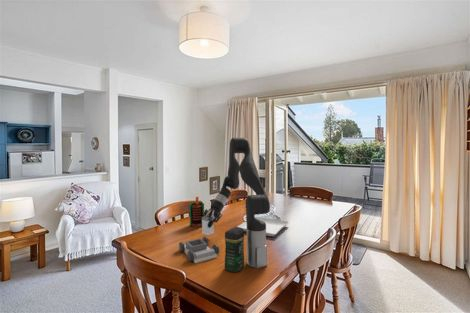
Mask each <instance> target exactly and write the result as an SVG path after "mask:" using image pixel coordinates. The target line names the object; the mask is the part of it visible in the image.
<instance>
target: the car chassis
mask: <svg viewBox="0 0 470 313" xmlns="http://www.w3.org/2000/svg"><path fill="white" fill-rule="evenodd" d="M208 245H209V239H208V237H207V236H203V237H202V238H197V239H192V240H187V241H185V242H184V241H179V242H178V251H179V252H180V253H183V252H184V253H185V254H186V256H187V260H188V262H190V263H191V262H193V263H194V264H197V263H201V262H204V261H209V260H212V259H215V258H218V255H219V253H220V246H219V245H218V244H212V246H211V248H210V247H209V246H208Z"/></svg>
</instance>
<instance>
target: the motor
mask: <svg viewBox="0 0 470 313" xmlns="http://www.w3.org/2000/svg"><path fill="white" fill-rule="evenodd" d="M204 212H205V203H204V202H202V201H199V196H195V201H194V202H190V203H189V227H192V228H202V227H201V226H202V225H201V223H202V217H203V214H204Z"/></svg>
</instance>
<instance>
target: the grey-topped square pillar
mask: <svg viewBox="0 0 470 313" xmlns="http://www.w3.org/2000/svg"><path fill="white" fill-rule="evenodd" d="M211 219H212V217H211V216H209V215H208V216H204V217H202V227H201V232H202V234H203V235H206V236H209V235H212V234H214V233H215V226H214V224H215V222H214V223H213V225H212V226H211V227H210V228H209V227H208V224H209V222H210V221H211Z"/></svg>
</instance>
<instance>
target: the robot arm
mask: <svg viewBox="0 0 470 313" xmlns="http://www.w3.org/2000/svg"><path fill="white" fill-rule="evenodd" d="M228 149H229V150H228V152H229V154H228V163H229V164H228V170H227V176H225V177H224V179H223V183H222V187H221V189H220V190H219V192H218V194H217V195H216V197H215V198H214V200H213V201H212V203H211V205H210V208H209V209H204V214H203V217H204V216H211V217H212V219H211V221H210V222H209V224H208V227H209V228H210V227H211V226H212V225H213V223H214V224H215V223H218V222H219V220H220V219H221V218H222V216H223V214H222V211H223V209H224V208H225V206H226V204H227V202H228V200H229V198H230V196H231V194H232V191H231V190H237V189H238V188H239V186H240V179H241V180H242V181H243V182H244V184H246V185H247V186H248V187H249V188H250V189H251V190H252V191H254V193H255V194H252V195H251V194H250V195H247V196H246V198H245V215H246V216H245V218H246V221H245V222H247V232H246V264H247V265H248V266H249V267H252V268H255V269H261V268H263V267H266V266H268V245H267V235H266V223H265V222H264V221H262V220H259V219H256V218H255V217H256V216H255V215H258V216H259V215H266V214H268V213H269V212H270V210H271V204H270V200H269V198H268V195H267V193H266V191H265V188H264V186H263V184H262V182H261V178H260V174H259V171H258V168H257V166H256V163H255V160H254V157H253V154H252V149H251V146H250V142H249V139H248V138H246V137H232V138H231V139H230V140H229V148H228ZM235 154H244V156H243V159H242V160H241V162H240V163H239V161H238V159H236V155H235ZM239 173H240V175H239ZM239 176H240V177H239ZM229 188H230V189H231V190H230V189H229ZM201 225H202V223H201Z"/></svg>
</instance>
